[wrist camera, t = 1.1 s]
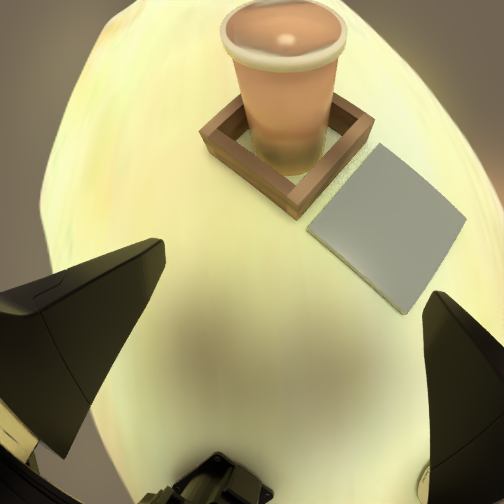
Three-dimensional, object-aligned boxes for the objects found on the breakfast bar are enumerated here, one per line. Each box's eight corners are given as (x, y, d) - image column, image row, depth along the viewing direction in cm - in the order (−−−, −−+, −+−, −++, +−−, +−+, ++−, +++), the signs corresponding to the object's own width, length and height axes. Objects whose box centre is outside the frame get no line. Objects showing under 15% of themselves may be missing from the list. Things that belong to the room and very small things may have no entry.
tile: (402, 314, 21) (406, 314, 20) (306, 230, 23) (307, 227, 22) (461, 222, 21) (466, 219, 21) (376, 148, 24) (379, 142, 23)
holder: (296, 220, 23) (298, 205, 20) (209, 152, 25) (198, 131, 22) (366, 141, 24) (375, 119, 20) (281, 86, 26) (279, 62, 23)
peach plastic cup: (323, 184, 24) (348, 69, 11) (244, 173, 25) (204, 59, 12) (330, 102, 25) (344, -12, 12) (261, 94, 26) (242, -18, 13)
